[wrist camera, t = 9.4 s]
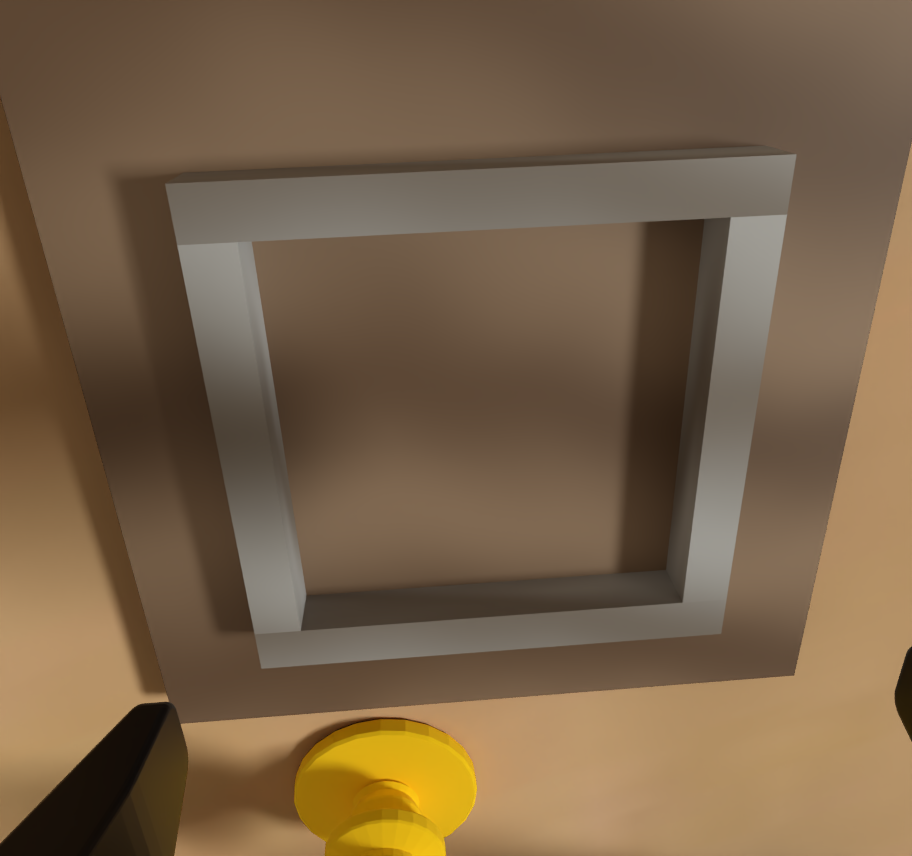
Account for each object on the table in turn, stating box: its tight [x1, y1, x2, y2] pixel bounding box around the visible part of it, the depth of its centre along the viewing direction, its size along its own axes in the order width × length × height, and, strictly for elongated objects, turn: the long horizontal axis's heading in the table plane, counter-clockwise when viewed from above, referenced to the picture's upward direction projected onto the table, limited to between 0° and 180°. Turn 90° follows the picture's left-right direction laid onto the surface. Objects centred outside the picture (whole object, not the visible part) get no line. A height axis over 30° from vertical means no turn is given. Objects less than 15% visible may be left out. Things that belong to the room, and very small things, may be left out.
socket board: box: [0, 0, 912, 724], centre depth 16 cm, size 16×16×2 cm
